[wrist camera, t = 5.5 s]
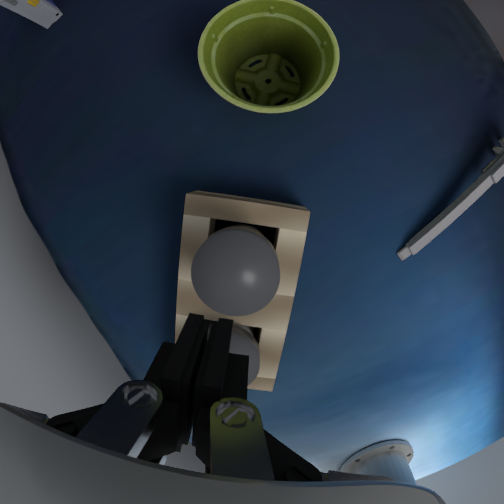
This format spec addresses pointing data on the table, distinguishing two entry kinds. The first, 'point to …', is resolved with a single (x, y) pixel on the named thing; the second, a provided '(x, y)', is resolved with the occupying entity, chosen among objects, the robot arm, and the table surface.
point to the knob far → (245, 347)
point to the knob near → (236, 271)
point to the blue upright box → (35, 10)
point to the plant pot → (268, 54)
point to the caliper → (457, 204)
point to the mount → (289, 257)
